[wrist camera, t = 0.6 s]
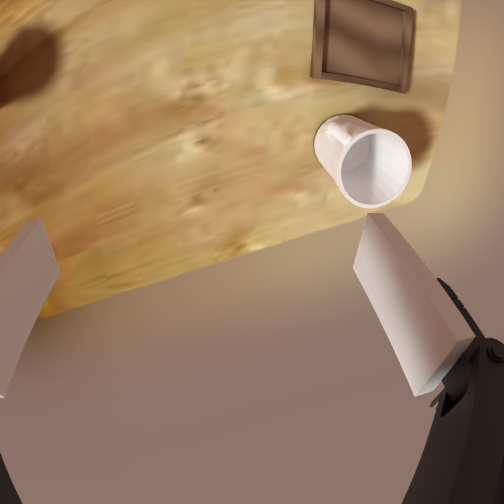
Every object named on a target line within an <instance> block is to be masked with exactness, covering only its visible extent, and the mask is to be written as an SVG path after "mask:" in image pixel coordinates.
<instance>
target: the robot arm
mask: <svg viewBox="0 0 504 504" xmlns="http://www.w3.org/2000/svg"><path fill="white" fill-rule="evenodd" d="M353 269H354V271H355V273H356V275H357V277H358V279H359V280H360V282H361V284H362V286H363V288H364V290H365V292H366V294H367V296H368V297H369V300H370V302H371V304H372V306H373V308H374V310H375V312H376V314H377V315H378V317H379V320H380V321H381V324H382V326H383V328H384V330H385V332H386V334H387V336H388V338H389V340H390V342H391V344H392V347H393V349H394V351H395V353H396V355H397V357H398V359H399V361H400V364H401V366H402V368H403V371H404V373H405V375H406V377H407V380H408V382H409V384H410V387H411V389H412V391H413V393H414V396H418V395H421V394H425V393H428V392H431V391H433V390H434V389H435V388H436V387H437V385H438V384H439V383H440V382H441V381H442V382H443V384H444V387H445V388H444V389H443V390H442V391H441V392H440V394H439V395H438V396H437V397H436V398H435V399H434V400H433V401H432V403H431V405H430V407H433V406H434V405H435V404H436V403H437V402H438V401H439V402H438V406H437V408H436V413H435V416H434V420H433V423H432V426H431V430H430V433H429V436H428V439H427V442H426V445H425V448H424V451H423V453H422V457H421V459H420V462H419V464H418V467H417V469H416V472H415V474H414V477H413V479H412V482H411V484H410V487H409V489H408V491H407V493H406V495H405V498H404V500H403V502H402V504H504V345H503V343H501V342H500V341H498V340H497V339H493V338H485V337H484V335H483V334H482V332H481V331H480V329H479V328H478V326H477V325H476V323H475V322H474V320H473V319H472V317H471V316H470V314H469V313H468V312H467V310H466V309H465V308H464V307H463V306H464V305H463V304H462V303H461V301H460V300H458V297H457V296H456V294H455V293H454V292H453V290H452V289H451V287H450V286H448V285H447V284H446V283H445V282H443V281H442V280H441V279H440V278H435V276H434V275H433V274H432V273H431V271H430V270H429V268H428V267H427V266H426V265H425V263H424V262H423V261H422V259H421V258H420V257H419V256H418V254H417V253H416V252H415V250H414V249H413V248H412V247H411V246H410V245H409V243H408V242H407V241H406V239H405V238H404V237H403V236H402V235H401V233H400V232H399V231H398V230H397V229H396V227H394V225H393V224H392V223H391V222H390V220H389V219H388V218H387V217H386V216H385V215H384V214H382V213H367V217H366V221H365V225H364V229H363V233H362V236H361V241H360V244H359V248H358V251H357V255H356V258H355V262H354V265H353ZM59 274H60V270H59V267H58V264H57V261H56V258H55V256H54V253H53V250H52V247H51V244H50V241H49V237H48V234H47V231H46V228H45V224H44V221H43V219H31V220H28V222H27V223H26V224H25V225H24V226H23V227H22V229H21V230H20V231H19V232H18V233H17V235H16V236H15V237H14V238H13V239H12V241H11V242H10V243H9V244H8V246H7V247H6V248H5V249H4V251H3V252H2V253H1V255H0V397H1V398H5V396H6V393H7V390H8V387H9V384H10V381H11V379H12V376H13V373H14V371H15V368H16V365H17V363H18V360H19V358H20V355H21V353H22V350H23V348H24V346H25V343H26V341H27V339H28V336H29V334H30V332H31V330H32V327H33V325H34V323H35V321H36V319H37V317H38V315H39V313H40V311H41V308H42V306H43V304H44V302H45V300H46V298H47V296H48V294H49V293H50V291H51V289H52V287H53V285H54V283H55V281H56V279H57V277H58V276H59ZM0 504H22V502H21V500H20V498H19V496H18V494H17V492H16V490H15V487H14V485H13V483H12V481H11V478H10V476H9V474H8V471H7V469H6V467H5V464H4V462H3V459H2V457H1V454H0Z"/></svg>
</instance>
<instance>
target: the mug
mask: <svg viewBox="0 0 504 504" xmlns="http://www.w3.org/2000/svg"><path fill="white" fill-rule="evenodd" d="M314 152H315V155H316V157H317V159H318V160H319V162H320V163H321V164H322V165H323V167H324V168H325V169H326V170H327V172H328V173H329V174H330V175H331V177H332V178H333V179H334V180H335V182H336V184H337V186H338V187H339V189H340V191H341V192H342V193H343V195H344V196H345V197H346V199H347V200H348V201H350V202H351V203H353V204H354V205H356V206H359V207H363V208H376V207H381V206H384V205H386V204H388V203H390V202H391V201H393V200H394V199H395V198H396V197H398V196H399V195H400V193H401V192H402V191H403V189H404V188H405V186H406V184H407V182H408V180H409V178H410V173H411V169H412V161H411V155H410V151H409V149H408V147H407V145H406V143H405V142H404V140H403V139H402V138H400V137H399V136H398V135H397V134H395V133H393V132H391V131H389V130H387V129H384V128H381V127H377V126H374V125H372V124H370V123H368V122H365V121H363V120H361V119H359V118H356V117H354V116H351V115H346V114H340V115H335V116H332V117H330V118H328V119H327V120H325V121H324V122H323V123H322V124H321V125H320V127H319V128H318V130H317V132H316V134H315V137H314Z"/></svg>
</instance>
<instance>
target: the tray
mask: <svg viewBox="0 0 504 504" xmlns="http://www.w3.org/2000/svg"><path fill="white" fill-rule="evenodd" d="M412 11H413V8H412V7H409V6H406V5H404V4H401V3H398V2H395V1H392V0H314V22H313V41H312V57H311V72H310V77H313V78H320V79H328V80H336V81H342V82H349V83H355V84H361V85H366V86H372V87H377V88H382V89H387V90H391V91H396V92H400V93H404V94H406V89H407V81H408V72H409V61H410V49H411V35H412Z"/></svg>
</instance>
